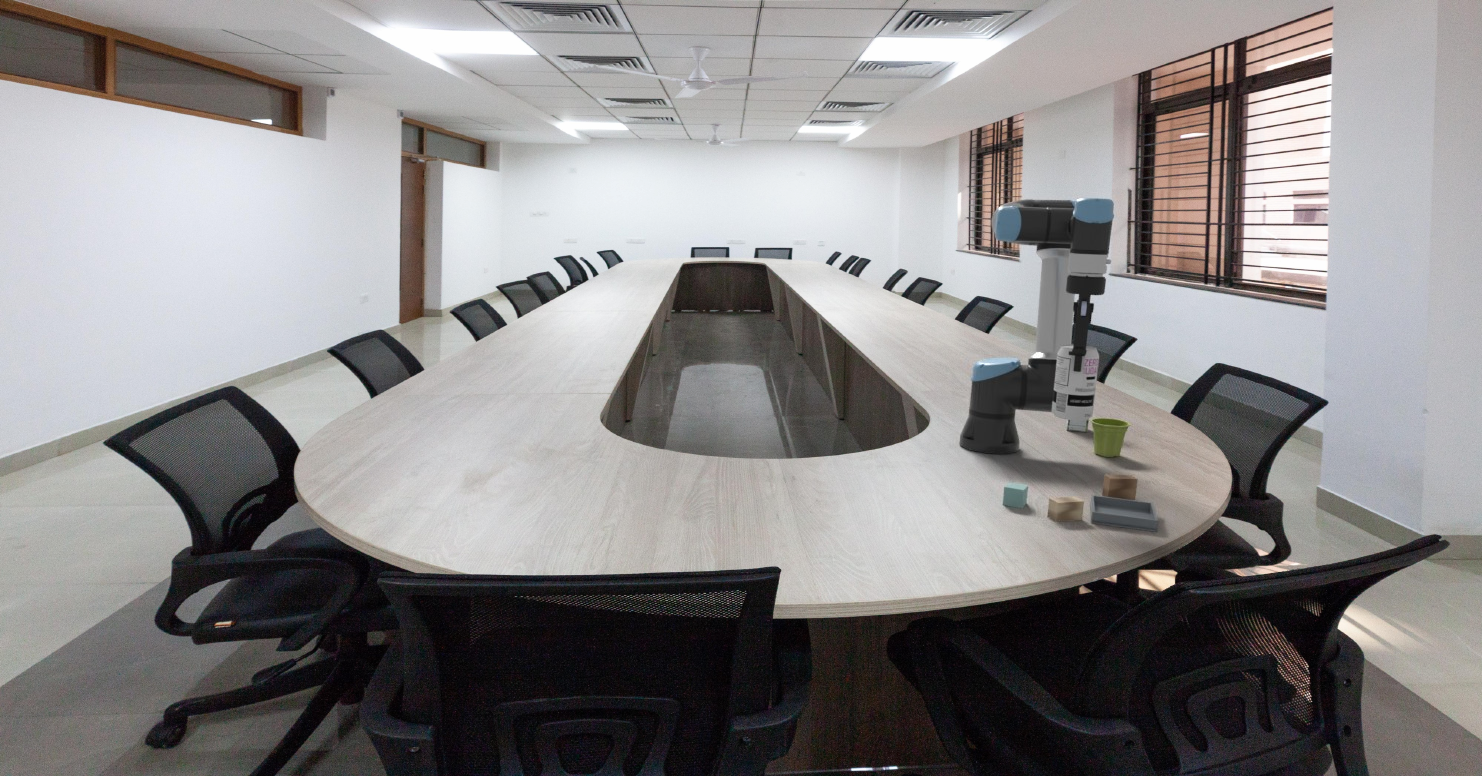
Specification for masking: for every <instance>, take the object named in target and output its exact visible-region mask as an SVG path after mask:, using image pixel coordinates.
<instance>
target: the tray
mask: <svg viewBox="0 0 1482 776" xmlns="http://www.w3.org/2000/svg"><path fill="white" fill-rule="evenodd" d="M1089 500H1090V501H1089V511H1090V512H1089V513H1090V523H1091V524H1095V525H1101V526H1103V525H1104V526H1110V527H1116V528H1117V527H1119V528H1126V529H1133V530H1141V531H1146V532H1147V531H1149V532H1154V533H1155V532H1156V533H1157V531H1158V524H1159V519H1158V515H1157V512H1156V509H1155V506H1154V502H1149V501H1143V500H1136V499H1135V500H1128V499H1120V498H1112V497H1104V496H1102V495H1094V494H1090V499H1089Z"/></svg>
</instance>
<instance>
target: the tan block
mask: <svg viewBox="0 0 1482 776" xmlns="http://www.w3.org/2000/svg"><path fill="white" fill-rule="evenodd" d="M1084 505H1085V501H1084V500H1082V499H1081V498H1079V497H1077V496H1065V497H1064V496H1062V497H1049V499H1048V506H1047V507H1048V508H1047V518H1049V519H1051V520H1053V521H1055V522H1066V521H1067V522H1068V521H1070V522H1071V521H1081V520H1083V514H1084V507H1085V506H1084Z"/></svg>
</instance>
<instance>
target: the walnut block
mask: <svg viewBox="0 0 1482 776" xmlns="http://www.w3.org/2000/svg"><path fill="white" fill-rule="evenodd" d="M1138 479H1139V478H1137V477H1136V476H1134V475H1132V474H1111V473H1110V474H1104V477H1103V484H1102V492H1101V496H1104V497H1112V498H1120V499H1128V500H1136V495H1137V488H1138V481H1139V480H1138Z"/></svg>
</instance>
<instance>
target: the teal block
mask: <svg viewBox="0 0 1482 776" xmlns="http://www.w3.org/2000/svg"><path fill="white" fill-rule="evenodd" d="M1028 492H1029V485H1028V484H1022V483H1021V484H1020V483H1014V482H1008V483H1006V484H1005V486H1004V488H1003V497H1002V505H1003V506H1009V507H1013V508H1018V509H1023V508H1024V507H1025V506H1026V505H1027V501H1028V500H1027V499H1028Z"/></svg>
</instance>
